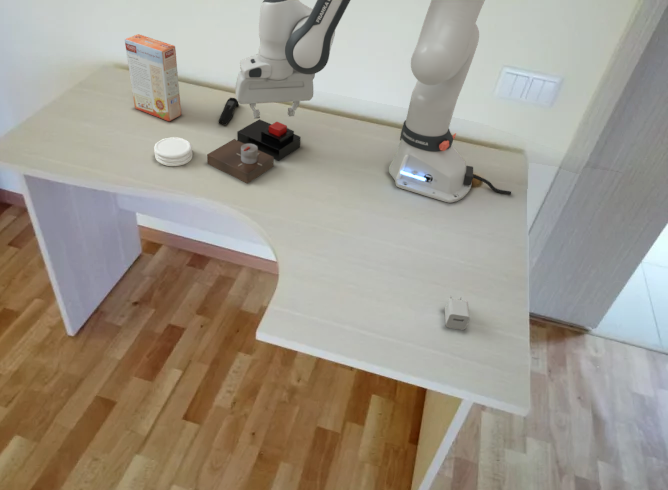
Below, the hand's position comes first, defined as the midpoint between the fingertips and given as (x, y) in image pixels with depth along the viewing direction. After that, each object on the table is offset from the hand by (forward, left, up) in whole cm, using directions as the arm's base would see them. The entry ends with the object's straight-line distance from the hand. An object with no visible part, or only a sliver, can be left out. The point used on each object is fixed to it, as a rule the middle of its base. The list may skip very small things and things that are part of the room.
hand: (273, 116), depth 143 cm
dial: (-1, +11, -8) cm, 14 cm away
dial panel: (+2, +11, -11) cm, 16 cm away
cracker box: (+40, +5, -11) cm, 42 cm away
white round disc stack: (+18, +20, -11) cm, 29 cm away
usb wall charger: (-67, +25, -11) cm, 72 cm away
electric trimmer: (+23, -8, -11) cm, 27 cm away
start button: (0, -3, -6) cm, 6 cm away
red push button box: (+3, -3, -11) cm, 12 cm away
